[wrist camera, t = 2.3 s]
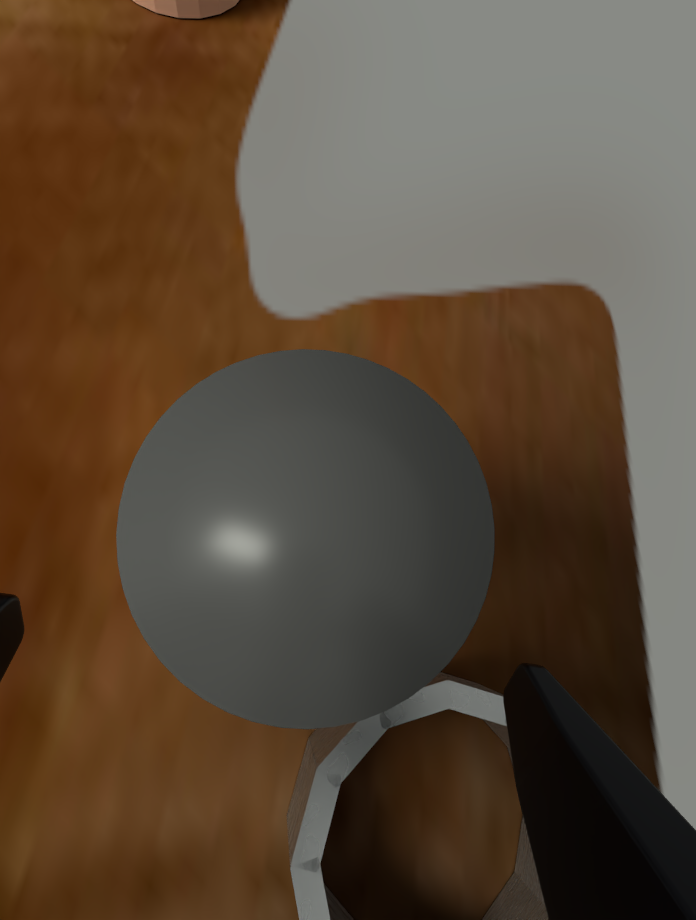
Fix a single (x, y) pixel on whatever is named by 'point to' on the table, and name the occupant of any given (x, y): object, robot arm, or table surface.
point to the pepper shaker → (188, 7)
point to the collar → (338, 752)
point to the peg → (305, 539)
